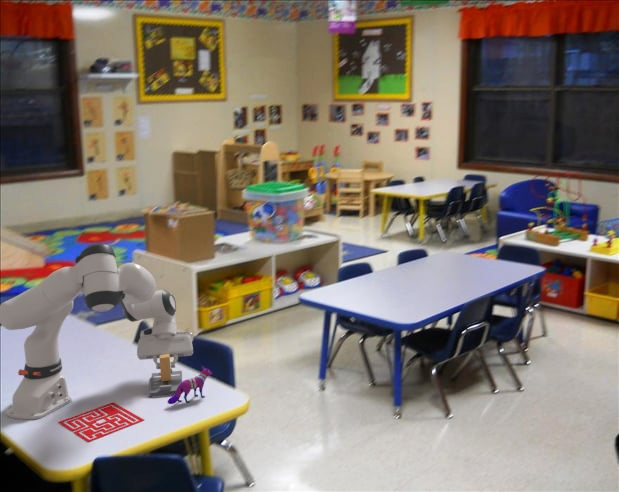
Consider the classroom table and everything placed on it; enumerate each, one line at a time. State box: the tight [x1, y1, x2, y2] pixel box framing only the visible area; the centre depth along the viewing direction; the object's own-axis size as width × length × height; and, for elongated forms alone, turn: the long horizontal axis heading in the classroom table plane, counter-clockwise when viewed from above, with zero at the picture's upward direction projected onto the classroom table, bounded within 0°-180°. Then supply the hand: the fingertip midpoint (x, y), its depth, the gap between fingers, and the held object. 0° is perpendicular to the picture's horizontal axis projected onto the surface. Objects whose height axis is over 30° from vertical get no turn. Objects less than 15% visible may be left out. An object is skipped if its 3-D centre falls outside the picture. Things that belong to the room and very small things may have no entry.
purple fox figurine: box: [167, 365, 213, 405], centre depth 250 cm, size 4×18×10 cm, turn 130°
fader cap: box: [159, 354, 171, 381], centre depth 264 cm, size 4×4×9 cm
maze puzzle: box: [58, 401, 145, 443], centre depth 237 cm, size 20×20×1 cm
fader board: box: [149, 368, 183, 398], centre depth 264 cm, size 18×11×3 cm, turn 9°
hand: (165, 367), depth 264 cm, fingers open, 4 cm apart
